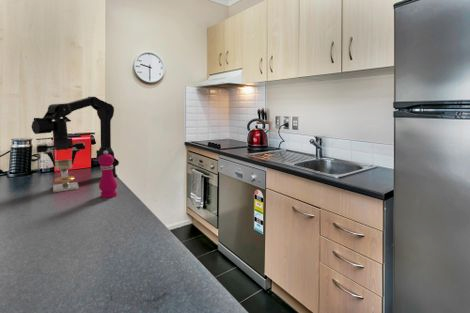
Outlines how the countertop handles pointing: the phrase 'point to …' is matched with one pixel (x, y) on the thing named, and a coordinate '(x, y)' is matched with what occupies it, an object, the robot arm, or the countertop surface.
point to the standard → (65, 182)
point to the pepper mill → (107, 176)
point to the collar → (63, 164)
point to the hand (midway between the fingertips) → (63, 165)
